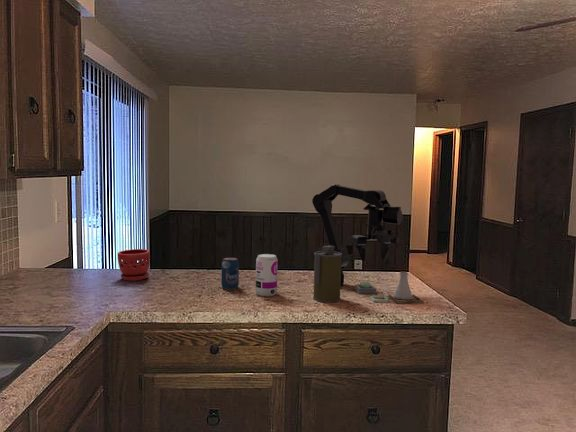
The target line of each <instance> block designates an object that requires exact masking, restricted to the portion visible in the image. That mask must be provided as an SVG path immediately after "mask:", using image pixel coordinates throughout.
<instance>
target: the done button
mask: <svg viewBox="0 0 576 432" xmlns="http://www.w3.org/2000/svg"><path fill="white" fill-rule="evenodd" d="M370 284H371V282H369V281H360V287H361V288H370Z"/></svg>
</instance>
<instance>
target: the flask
mask: <svg viewBox="0 0 576 432" xmlns="http://www.w3.org/2000/svg"><path fill="white" fill-rule="evenodd" d="M399 274H400V278H399V282H398V285H397V287H396V289H395V292H394V294H393V296H392V297H393V298H395V299H396V300H401V301H402V300H412V299H413V298H414V297H412V291H411V289H410V285H409V281H408V278H409V276H408V275H409V272H408V271H400V272H399Z"/></svg>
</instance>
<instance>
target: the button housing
mask: <svg viewBox="0 0 576 432" xmlns="http://www.w3.org/2000/svg"><path fill="white" fill-rule="evenodd" d="M354 290H355V292H357V293H358V295H359V294H365V295H367V294H368V295H369V294H371V295H373V294H375V295H376V294H377V288H376V287H375V286H374V285H373V284H371V283H370V288H361V287H360V284H356V283H355V284H354Z"/></svg>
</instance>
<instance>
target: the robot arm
mask: <svg viewBox="0 0 576 432" xmlns="http://www.w3.org/2000/svg"><path fill="white" fill-rule="evenodd" d="M338 196H344V197H348V198H352V199H358V200H361V201H362V202H364V203H366V204H367V205H365V207H363V211H364V210H365V211H368V213H367V214H368V216H367V223H366V224H365V227H367V231H366V233H364V234H365V235H360V234H356V235H355V234H354V235H352V236H351V237H350V243H352V245H355V246H356V248H357V251H358V253H359V256H360V260H361V261H362V262H365V260H366V248H367V246H368V245H367V243H369V242H378V243H379V244H380V260H382V261H384V260H385V258H386V255H387V254H388V251H389V249H390V248H391V247H392V246H394V245H395V244H398V237H397V235H395V231H394V230H393V229H388V230H386V229H385V225H384V224H383V222H384V223H386V224H393V225H401V224H402V222H403V217H404V216H403V211H402V207H401V206H391V204H390V203H389V200H388V199H387V196H386V193H385V191H384V190H379V189H378V190H377V189H375V190H374V189H373V190H372V189H371V190H370V189H369V190H368V189H367V190H364V189H359V188H355V187H351V186H345V185H341V184H332V185H331V186H329V187H328V188H327V189H324V190H323V191H321V192H319V193H317V194H315V195H314V196H313V197H312V199H311V202H312V206H313V207H314V209H315V211H316V212H317V213H318V215H319V216H320V219H321V222H322V226H323V229H324V233H325V236H326V240H327V242H328V246H329V245H330V246H335V248H334V252H340V253H342V257H341V286H342V287H344V284H345V274H344V270H345V269H346V266H347V265H348V264H349V262H350V254H349V251H348V248H347V247H343V246H342V244H341V241H340V237H339V235H338V234H339V233H338V231H337V227H336V224H335V221H334V217H333V214H332V211H333V203H332V202H333V201H335V199H337V197H338Z"/></svg>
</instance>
